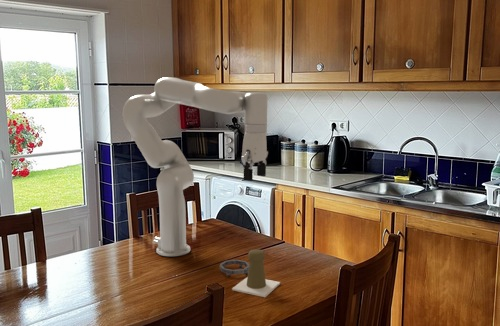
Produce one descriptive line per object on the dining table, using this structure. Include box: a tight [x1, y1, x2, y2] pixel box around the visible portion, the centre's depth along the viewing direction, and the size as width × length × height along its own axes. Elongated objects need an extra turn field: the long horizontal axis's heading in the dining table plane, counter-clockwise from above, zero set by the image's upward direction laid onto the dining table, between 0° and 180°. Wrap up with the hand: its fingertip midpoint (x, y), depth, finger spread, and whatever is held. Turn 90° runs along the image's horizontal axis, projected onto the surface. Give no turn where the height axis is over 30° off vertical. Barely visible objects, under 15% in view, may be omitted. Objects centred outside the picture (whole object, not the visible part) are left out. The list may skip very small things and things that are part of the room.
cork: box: [246, 248, 266, 289], centre depth 146 cm, size 6×6×11 cm
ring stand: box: [219, 259, 250, 278], centre depth 159 cm, size 10×10×2 cm
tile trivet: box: [231, 276, 281, 298], centre depth 147 cm, size 11×11×1 cm
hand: (254, 178), depth 166 cm, fingers open, 9 cm apart
